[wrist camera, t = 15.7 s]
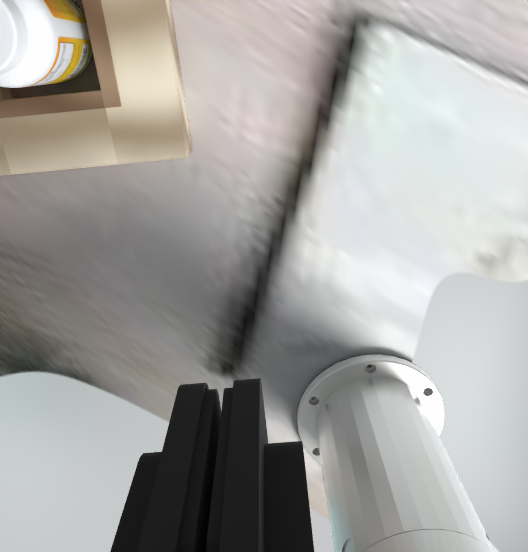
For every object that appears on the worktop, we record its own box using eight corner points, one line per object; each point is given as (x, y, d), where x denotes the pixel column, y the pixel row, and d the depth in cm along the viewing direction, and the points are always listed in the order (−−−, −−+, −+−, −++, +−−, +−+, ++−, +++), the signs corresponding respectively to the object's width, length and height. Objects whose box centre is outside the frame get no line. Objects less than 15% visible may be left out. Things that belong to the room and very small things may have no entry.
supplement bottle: (-2, -6, 31) (-108, -33, 22) (83, -15, 31) (11, -47, 22) (23, 87, 33) (-65, 96, 24) (103, 78, 33) (44, 84, 24)
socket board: (192, 150, 35) (186, 158, 32) (-32, 172, 35) (-58, 181, 32) (150, -134, 28) (137, -157, 25) (-122, -102, 29) (-165, -121, 26)
